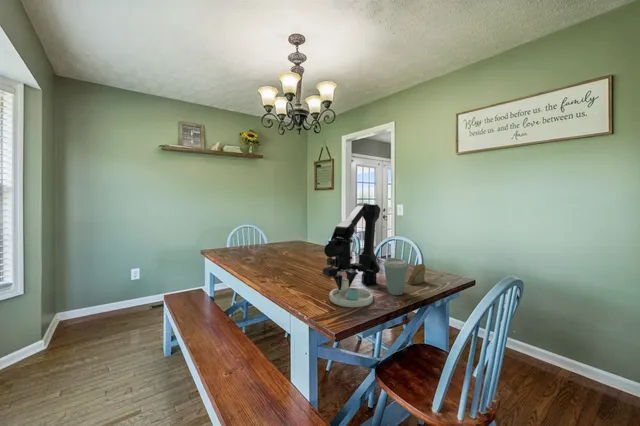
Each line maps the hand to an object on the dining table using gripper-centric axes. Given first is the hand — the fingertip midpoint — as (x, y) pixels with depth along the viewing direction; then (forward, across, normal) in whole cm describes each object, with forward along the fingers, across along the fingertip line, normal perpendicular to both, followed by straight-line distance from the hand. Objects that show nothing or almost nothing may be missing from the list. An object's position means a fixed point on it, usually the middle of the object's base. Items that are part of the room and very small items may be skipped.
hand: (343, 288), depth 126 cm
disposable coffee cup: (+3, -22, +9) cm, 24 cm away
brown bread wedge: (+3, -42, +3) cm, 42 cm away
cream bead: (+1, 0, 0) cm, 1 cm away
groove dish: (+3, 0, +5) cm, 6 cm away
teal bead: (+2, +3, +10) cm, 10 cm away
